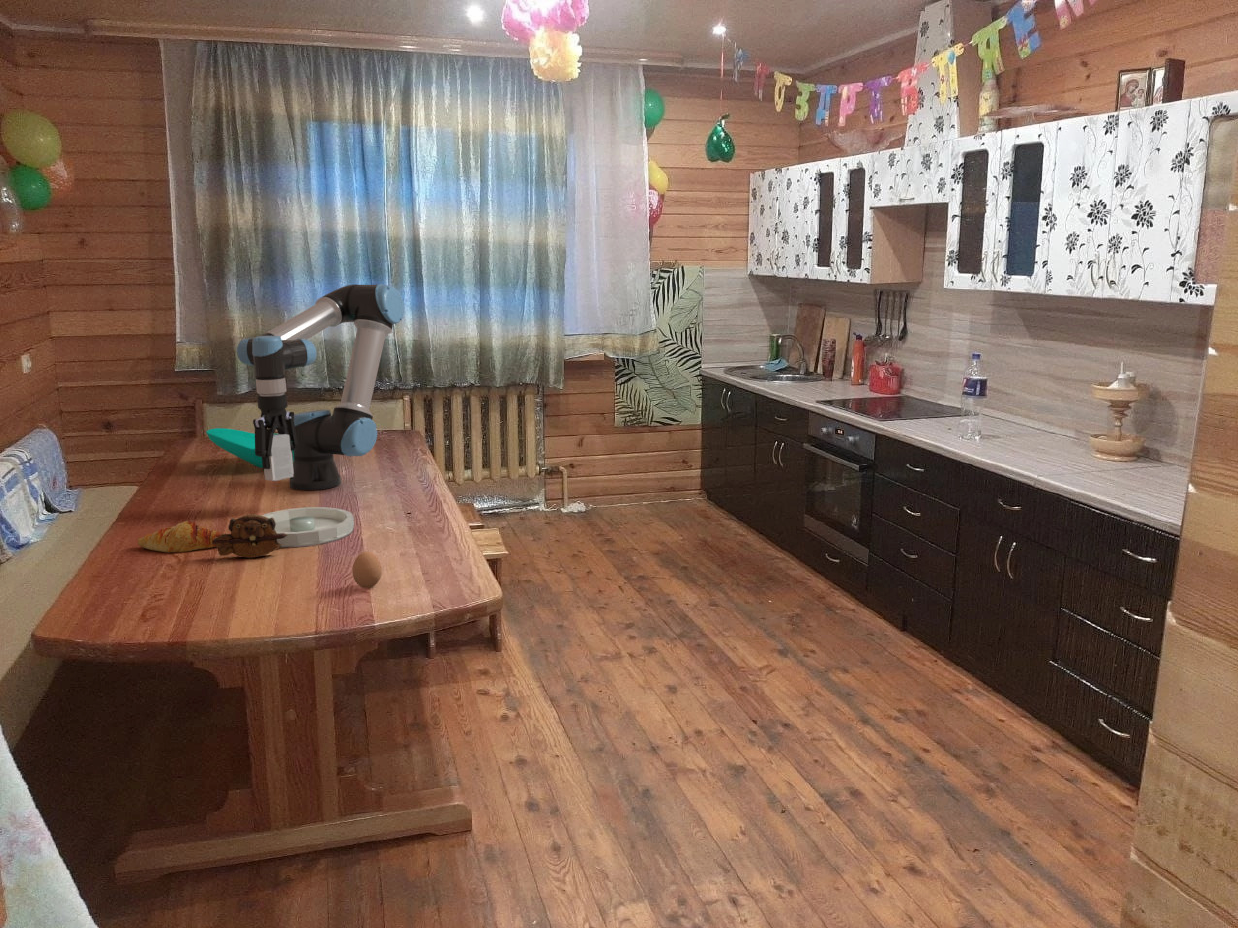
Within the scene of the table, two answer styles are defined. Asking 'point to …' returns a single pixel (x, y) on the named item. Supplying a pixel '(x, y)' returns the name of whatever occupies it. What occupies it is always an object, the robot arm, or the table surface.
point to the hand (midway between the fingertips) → (279, 476)
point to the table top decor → (237, 444)
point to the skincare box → (281, 457)
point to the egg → (366, 570)
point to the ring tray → (322, 522)
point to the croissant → (179, 538)
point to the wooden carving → (249, 537)
